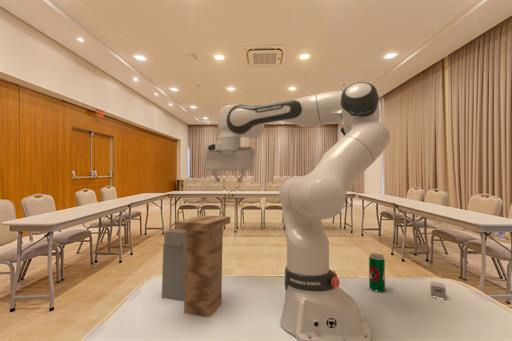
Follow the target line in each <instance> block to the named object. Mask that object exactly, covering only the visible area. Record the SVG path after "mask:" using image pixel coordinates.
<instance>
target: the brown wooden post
mask: <svg viewBox="0 0 512 341" xmlns="http://www.w3.org/2000/svg"><path fill="white" fill-rule="evenodd" d="M230 223H231V216H228V215H227V216H223V215H222V216H221V215H203V214H202V215H198V216H193V217H190V218H185V219H181V220H178V221H175V222H174V224H175V225H174V226H175V229H176V230H186V251H185V292H184V301H183V314H187V315H192V316H193V315H194V316H200V317H201V316H202V317H208V318H210V317H212V316H213V314H214V313H215V312H216V311H217V310H218V309H219V308H220V307H221V305H222V296H223V294H222V290H223V289H222V286H223V285H222V284H223V283H222V282H223V278H222V277H223V239H224V238H223V237H224V236H223V232H224V231H223V230H224V229H223V228H224V227H223V226H226V225H228V224H230Z"/></svg>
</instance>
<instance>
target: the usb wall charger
mask: <svg viewBox="0 0 512 341" xmlns="http://www.w3.org/2000/svg"><path fill="white" fill-rule="evenodd" d="M429 285H430V287H429V288H430V296H431V295H432V296H436V297H439V298H443V299H445V300H447V293H446V292H447V291H446V286H445V283H443V282H438V281H430V284H429Z"/></svg>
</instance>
